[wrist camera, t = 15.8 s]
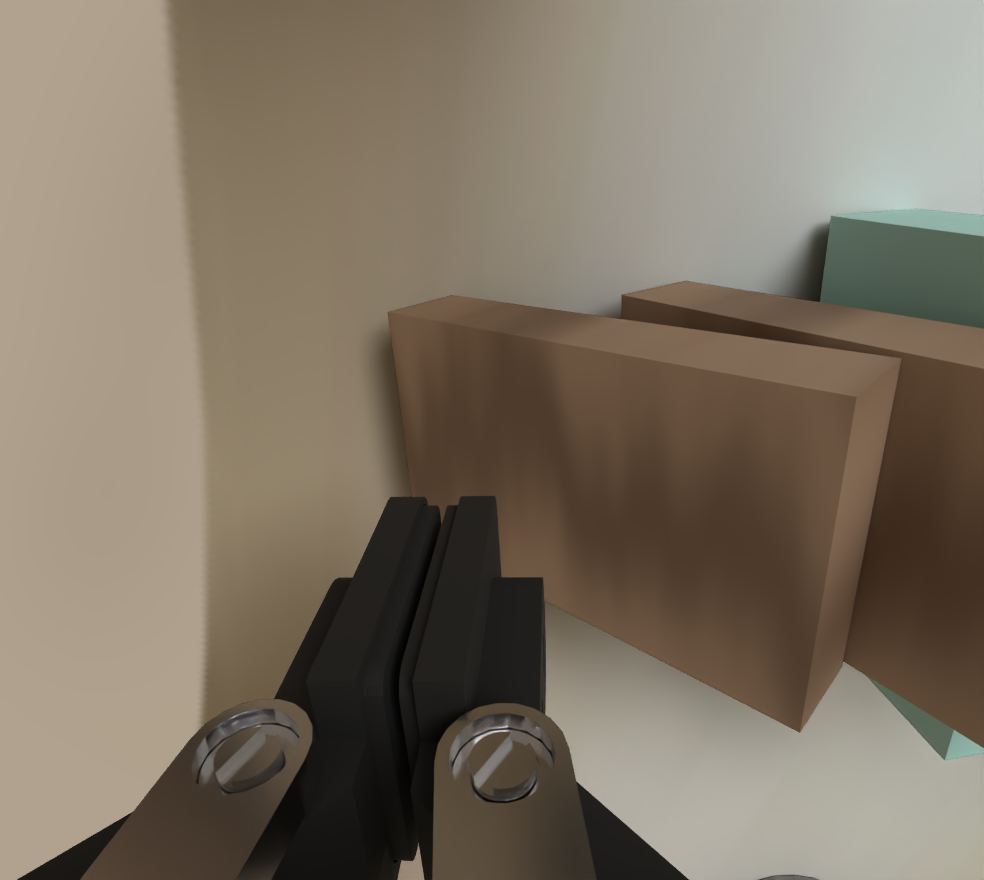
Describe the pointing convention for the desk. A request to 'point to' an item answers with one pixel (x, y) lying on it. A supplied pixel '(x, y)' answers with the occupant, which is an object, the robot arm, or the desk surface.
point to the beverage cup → (789, 878)
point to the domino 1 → (659, 479)
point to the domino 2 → (893, 486)
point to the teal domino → (915, 293)
